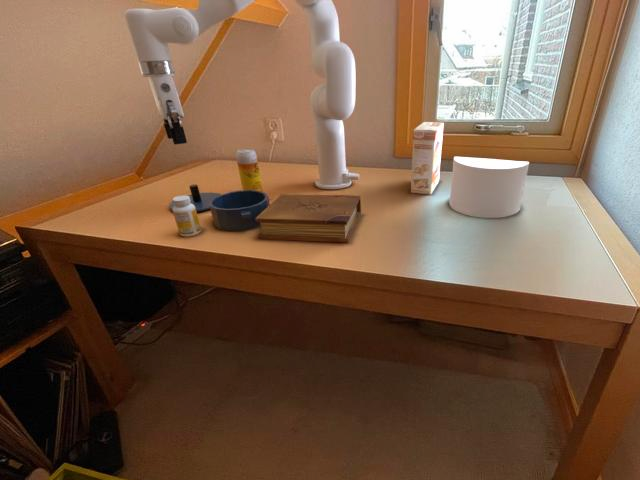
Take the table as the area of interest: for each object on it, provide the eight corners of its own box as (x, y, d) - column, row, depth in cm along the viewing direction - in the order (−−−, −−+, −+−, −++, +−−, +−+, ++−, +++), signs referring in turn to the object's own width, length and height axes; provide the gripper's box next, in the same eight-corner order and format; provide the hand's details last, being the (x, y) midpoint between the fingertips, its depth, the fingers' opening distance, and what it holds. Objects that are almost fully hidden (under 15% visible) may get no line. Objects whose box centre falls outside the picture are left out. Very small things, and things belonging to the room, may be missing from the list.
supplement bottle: (186, 238, 94) (175, 203, 89) (176, 233, 97) (165, 198, 92) (205, 231, 98) (196, 197, 93) (195, 226, 101) (185, 193, 96)
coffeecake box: (431, 194, 117) (436, 130, 107) (409, 192, 120) (412, 129, 109) (440, 181, 129) (444, 121, 119) (420, 179, 131) (423, 121, 121)
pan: (262, 203, 115) (259, 184, 112) (279, 227, 99) (276, 206, 96) (210, 212, 110) (205, 193, 107) (219, 239, 93) (213, 217, 90)
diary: (361, 214, 105) (360, 194, 102) (348, 243, 89) (346, 221, 86) (284, 211, 109) (282, 192, 106) (259, 238, 93) (255, 217, 90)
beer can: (258, 201, 117) (250, 153, 109) (241, 200, 118) (231, 152, 110) (266, 195, 122) (258, 148, 114) (249, 194, 123) (241, 148, 115)
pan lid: (222, 192, 125) (218, 175, 122) (228, 208, 112) (224, 188, 109) (169, 201, 120) (164, 182, 116) (170, 218, 107) (164, 198, 104)
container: (522, 197, 112) (532, 153, 106) (516, 222, 97) (526, 171, 90) (457, 190, 120) (461, 148, 113) (441, 212, 105) (445, 165, 98)
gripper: (179, 69, 87) (198, 144, 96) (168, 68, 100) (185, 134, 109) (144, 71, 84) (167, 148, 93) (137, 69, 97) (158, 137, 105)
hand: (177, 140), depth 101 cm, fingers open, 9 cm apart
